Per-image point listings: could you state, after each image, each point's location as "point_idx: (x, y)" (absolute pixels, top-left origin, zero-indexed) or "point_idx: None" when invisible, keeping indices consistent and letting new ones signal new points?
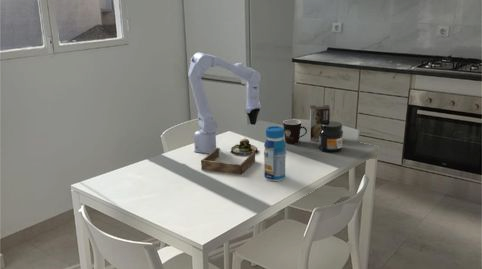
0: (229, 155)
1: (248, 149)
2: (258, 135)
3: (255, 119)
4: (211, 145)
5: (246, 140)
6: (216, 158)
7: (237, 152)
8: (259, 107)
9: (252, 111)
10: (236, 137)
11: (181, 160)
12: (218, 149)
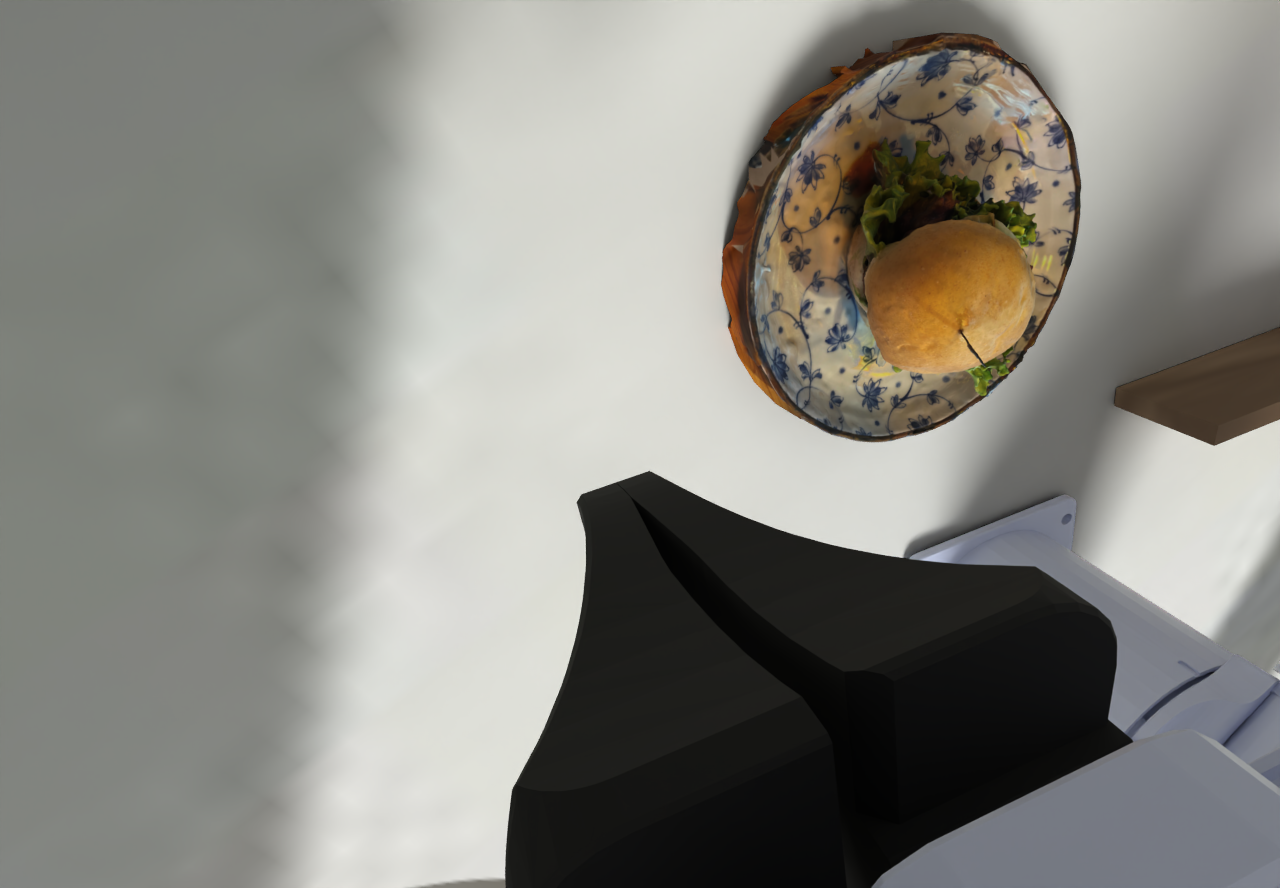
0: (1058, 323)
1: (939, 178)
2: (107, 555)
3: (733, 515)
4: (1102, 572)
5: (1019, 248)
6: (1176, 369)
7: (1072, 245)
8: (1219, 762)
9: (1110, 750)
10: (454, 707)
11: (1227, 576)
12: (1213, 417)
